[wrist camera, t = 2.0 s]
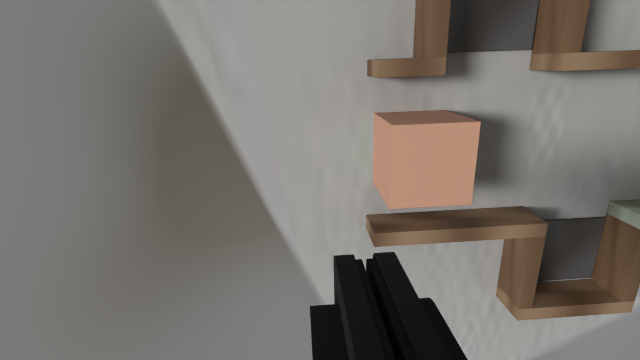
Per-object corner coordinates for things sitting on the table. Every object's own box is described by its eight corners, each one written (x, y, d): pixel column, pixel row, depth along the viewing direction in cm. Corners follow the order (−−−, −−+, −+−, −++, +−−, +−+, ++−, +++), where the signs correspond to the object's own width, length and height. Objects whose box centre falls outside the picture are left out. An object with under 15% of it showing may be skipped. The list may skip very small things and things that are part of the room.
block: (372, 181, 26) (389, 209, 21) (373, 112, 24) (392, 125, 20) (440, 178, 26) (471, 204, 21) (445, 109, 25) (481, 121, 20)
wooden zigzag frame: (365, 304, 29) (372, 330, 26) (368, -67, 21) (380, -87, 18) (672, 283, 30) (711, 306, 28) (790, -74, 22) (863, -94, 19)
